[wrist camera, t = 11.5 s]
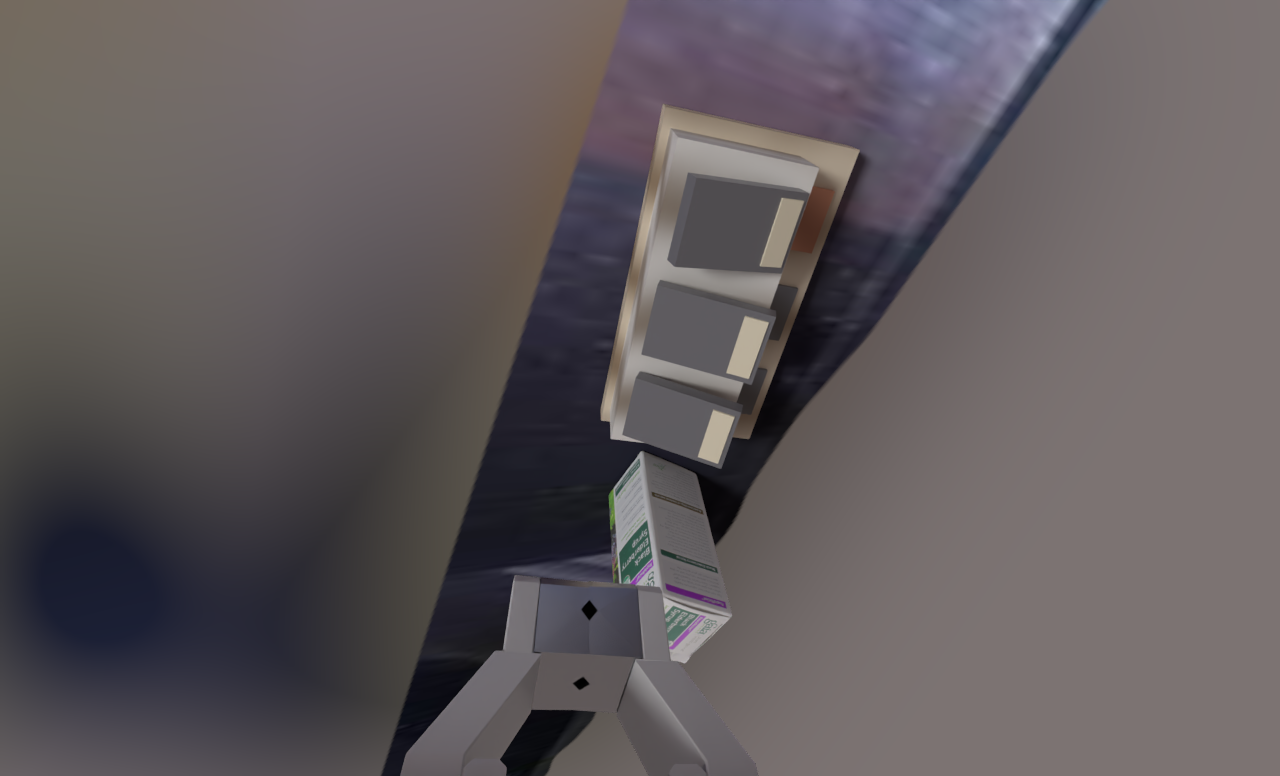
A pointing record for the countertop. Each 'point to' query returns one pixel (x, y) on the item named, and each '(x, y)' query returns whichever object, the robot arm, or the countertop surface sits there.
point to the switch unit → (734, 155)
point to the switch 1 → (735, 224)
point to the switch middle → (707, 332)
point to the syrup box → (669, 549)
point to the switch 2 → (681, 419)
